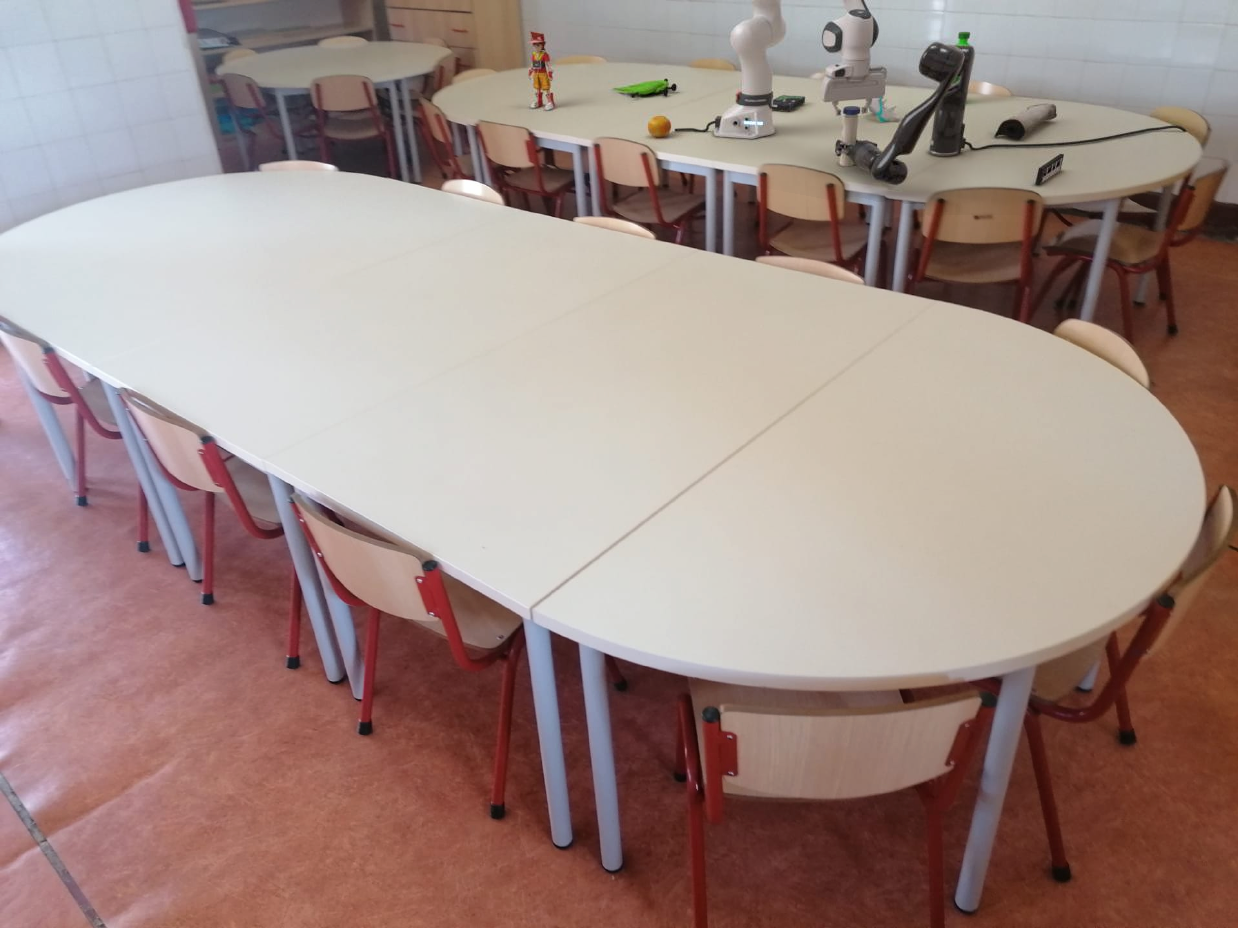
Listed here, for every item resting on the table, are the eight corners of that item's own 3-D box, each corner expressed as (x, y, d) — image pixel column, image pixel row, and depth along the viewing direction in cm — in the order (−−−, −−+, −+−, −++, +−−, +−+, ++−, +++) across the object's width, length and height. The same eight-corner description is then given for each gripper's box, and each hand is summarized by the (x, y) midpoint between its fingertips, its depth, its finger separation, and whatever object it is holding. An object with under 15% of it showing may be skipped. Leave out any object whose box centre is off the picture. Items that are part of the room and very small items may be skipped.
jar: (846, 167, 294) (850, 114, 285) (836, 163, 298) (841, 111, 288) (857, 164, 296) (862, 112, 286) (847, 161, 299) (852, 109, 290)
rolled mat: (1024, 108, 329) (1048, 91, 321) (1038, 129, 330) (1062, 112, 321) (990, 131, 312) (1014, 113, 304) (1004, 153, 312) (1029, 136, 304)
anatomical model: (861, 90, 342) (887, 83, 342) (863, 118, 348) (889, 111, 348) (873, 100, 330) (900, 92, 329) (875, 128, 336) (902, 121, 335)
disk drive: (790, 112, 355) (805, 103, 365) (791, 105, 353) (805, 96, 363) (766, 110, 360) (781, 101, 370) (766, 103, 358) (781, 94, 368)
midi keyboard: (1039, 185, 269) (1043, 168, 266) (1035, 184, 270) (1038, 168, 267) (1060, 170, 279) (1064, 154, 277) (1056, 169, 280) (1060, 153, 277)
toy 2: (686, 85, 398) (631, 84, 414) (685, 72, 395) (629, 72, 411) (651, 104, 381) (596, 103, 397) (650, 92, 378) (594, 91, 394)
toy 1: (525, 109, 381) (517, 32, 364) (534, 104, 388) (527, 28, 371) (550, 110, 377) (543, 32, 360) (559, 105, 384) (553, 28, 367)
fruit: (641, 128, 333) (652, 109, 330) (648, 131, 340) (659, 112, 337) (658, 141, 331) (670, 121, 328) (665, 143, 339) (677, 124, 336)
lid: (863, 113, 287) (864, 108, 286) (851, 116, 284) (852, 111, 284) (851, 110, 291) (851, 105, 290) (839, 113, 288) (839, 108, 287)
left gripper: (883, 63, 283) (878, 109, 291) (820, 68, 282) (817, 114, 290) (891, 67, 278) (885, 114, 286) (826, 72, 277) (823, 119, 284)
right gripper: (889, 141, 280) (866, 128, 294) (846, 146, 278) (825, 132, 292) (886, 165, 285) (864, 151, 298) (844, 170, 283) (823, 156, 297)
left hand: (850, 114), depth 288 cm, fingers open, 7 cm apart
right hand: (845, 142), depth 295 cm, fingers closed on jar, 4 cm apart
